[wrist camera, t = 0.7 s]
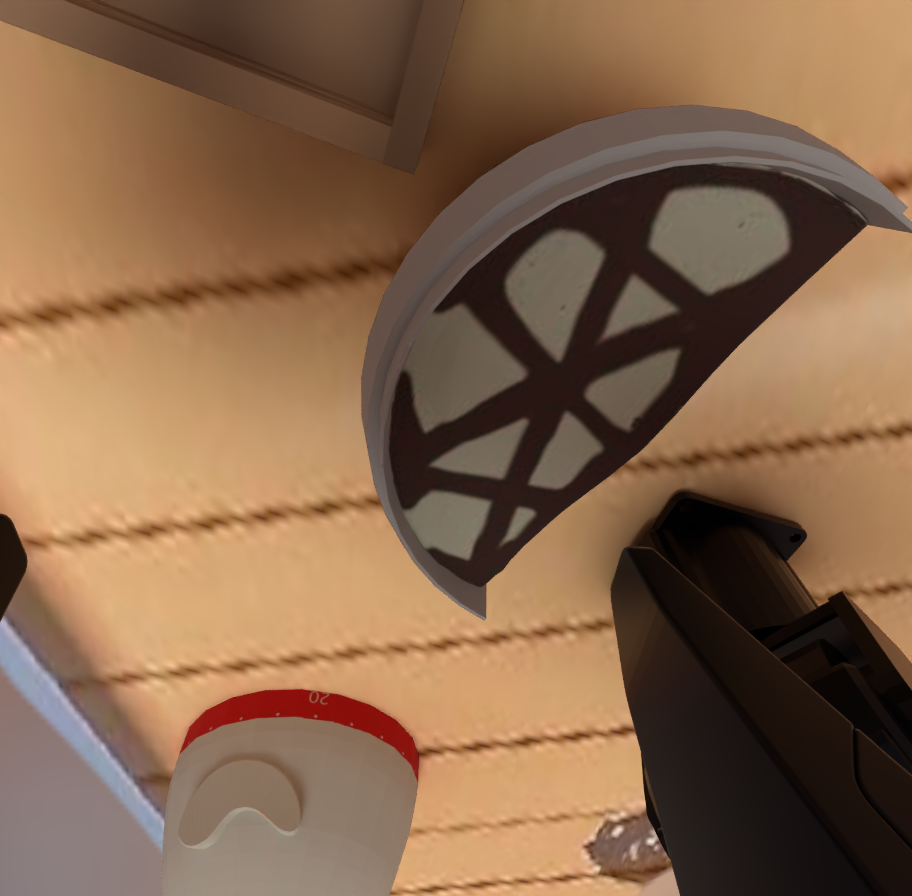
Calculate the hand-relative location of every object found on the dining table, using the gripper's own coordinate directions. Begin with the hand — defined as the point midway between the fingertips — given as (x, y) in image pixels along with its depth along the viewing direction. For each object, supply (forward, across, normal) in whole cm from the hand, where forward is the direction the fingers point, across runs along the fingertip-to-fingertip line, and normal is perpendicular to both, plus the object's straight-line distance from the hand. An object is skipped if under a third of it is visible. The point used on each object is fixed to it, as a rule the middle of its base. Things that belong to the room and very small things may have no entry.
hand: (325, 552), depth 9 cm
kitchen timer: (+14, +5, +29) cm, 33 cm away
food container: (+13, -3, -2) cm, 14 cm away
